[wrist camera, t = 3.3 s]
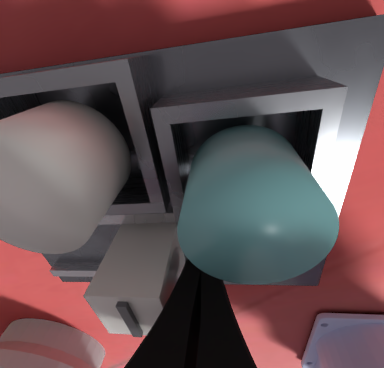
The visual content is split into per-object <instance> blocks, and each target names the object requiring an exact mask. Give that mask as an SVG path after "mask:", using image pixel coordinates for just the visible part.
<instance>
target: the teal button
mask: <svg viewBox="0 0 384 368" xmlns="http://www.w3.org/2000/svg"><path fill="white" fill-rule="evenodd" d="M338 232H339V219H338V214H337V212H336V209H335V207H334V205H333V204H332V202H331V201H330V199H329V198H328V196H327V195H326V193H325V192H324V191H323V189H322V188H321V186H320V185H319V183H318V182H317V181H316V179H315V178H314V176H313V175H312V174H311V172H310V171H309V169H308V168H307V166H306V165H305V164H304V162H303V161H302V159H301V158H300V156H299V155H298V154H297V152H296V151H295V149H294V148H293V146H292V145H291V144H290V142H289V141H288V140H287V139H286V138H285V137H283V136H282V135H281V134H279V133H277V132H276V131H274V130H272V129H269V128H266V127H262V126H257V125H239V126H233V127H230V128H226V129H224V130H222V131H219V132H217V133H216V134H214V135H212V136H211V137H210V138H208V139H207V140H206V141H205V142H204V143H203V144H202V145H201V146H200V147H199V149H198V150H197V152H196V153H195V155H194V157H193V160H192V163H191V167H190V172H189V176H188V181H187V185H186V190H185V194H184V199H183V203H182V208H181V212H180V217H179V221H178V226H177V236H178V241H179V244H180V247H181V249H182V251H183V253H184V254H185V256H186V257H187V258H188V259H189V260H190V261H191V262H192V264H194V265H195V266H196V267H197V268H199V269H200V270H202V271H203V272H205V273H207V274H209V275H211V276H213V277H216V278H218V279H221V280H224V281H228V282H233V283H239V284H269V283H275V282H280V281H284V280H288V279H291V278H293V277H296V276H298V275H301V274H303V273H305V272H307V271H308V270H310V269H312V268H313V267H314V266H316V265H317V264H319V263H320V262H321V261H322V260H323V259H324V258H325V257H326V256H327V255H328V253H329V252H330V251H331V249H332V248H333V246H334V244H335V242H336V239H337V237H338Z"/></svg>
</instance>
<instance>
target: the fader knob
mask: <svg viewBox="0 0 384 368" xmlns="http://www.w3.org/2000/svg"><path fill="white" fill-rule="evenodd" d="M184 265H185V257H184V253H183V251H182V249H181V247H180V244H179V241H178V236H177V225H176V223H143V224H121V226H120V228H119V230H118V232H117V233H116V235H115V237H114V239H113V241H112V243H111V245H110V247H109V249H108V250H107V252H106V254H105V256H104V258H103V260H102V262H101V264H100V265H99V267H98V269H97V271H96V273H95V275H94V277H93V279H92V281H91V282H90V284H89V286H88V288H87V290H86V292H85V294H84V298H85V299H86V301H87V302H88V303H89V305H90V306H91V308H92V309H93V311H94V312H95V313H96V315H97V316H98V318H99V319H100V321H101V322H102V323H103V325H104V326H105V328H106V329H107V331H108V332H109V333H114V334H132V336H133V337H142V335H147V334H148V332H149V331H150V329H151V328H152V326H153V325H154V323H155V321H156V320H157V318H158V316H159V315H160V313H161V311H162V309H163V308H164V306H165V304H166V302H167V300H168V298H169V297H170V295H171V293H172V291H173V289H174V287H175V285H176V283H177V280H178V278H179V276H180V274H181V272H182V269H183V267H184Z"/></svg>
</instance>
